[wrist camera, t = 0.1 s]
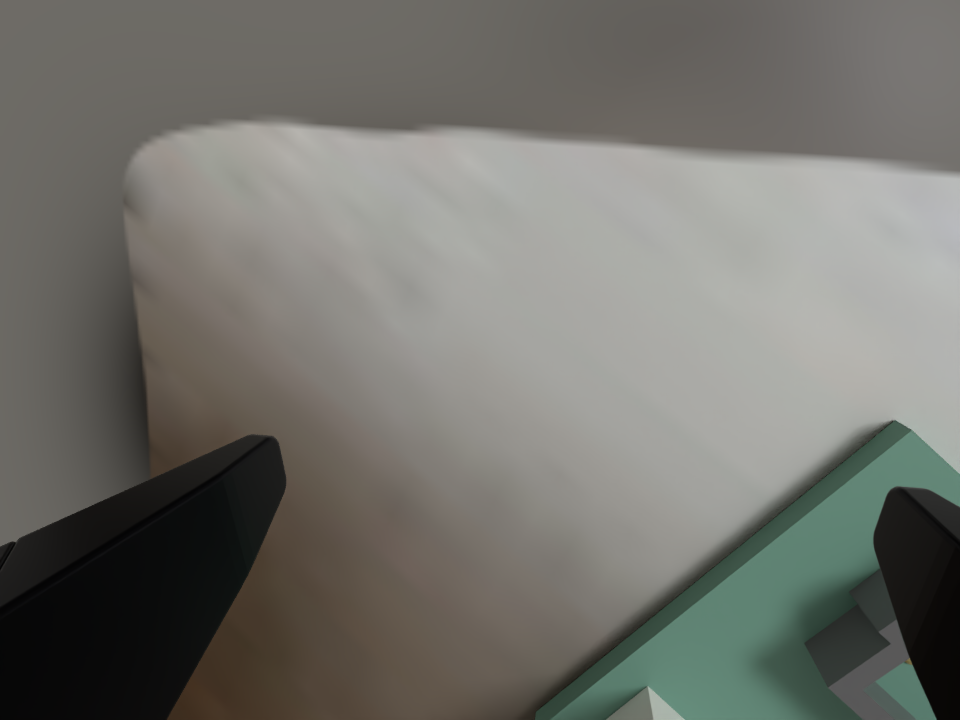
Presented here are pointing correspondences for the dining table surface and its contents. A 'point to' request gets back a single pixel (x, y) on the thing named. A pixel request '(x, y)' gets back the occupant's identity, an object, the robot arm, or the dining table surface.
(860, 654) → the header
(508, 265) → the dining table surface
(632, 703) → the grey box
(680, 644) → the board
